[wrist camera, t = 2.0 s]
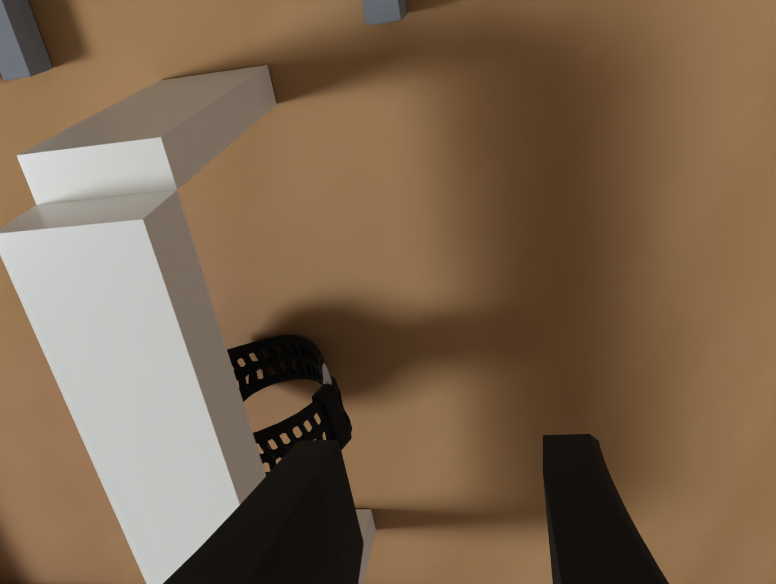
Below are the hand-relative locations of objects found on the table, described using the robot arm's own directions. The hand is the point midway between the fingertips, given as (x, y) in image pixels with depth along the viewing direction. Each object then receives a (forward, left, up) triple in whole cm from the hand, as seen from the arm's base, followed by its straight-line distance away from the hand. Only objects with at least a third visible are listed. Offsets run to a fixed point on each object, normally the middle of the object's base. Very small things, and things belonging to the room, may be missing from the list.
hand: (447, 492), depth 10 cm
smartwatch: (+7, +5, -11) cm, 13 cm away
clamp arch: (+7, +4, -10) cm, 13 cm away
